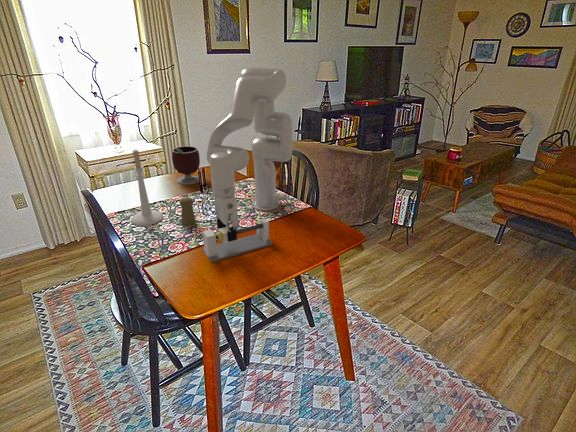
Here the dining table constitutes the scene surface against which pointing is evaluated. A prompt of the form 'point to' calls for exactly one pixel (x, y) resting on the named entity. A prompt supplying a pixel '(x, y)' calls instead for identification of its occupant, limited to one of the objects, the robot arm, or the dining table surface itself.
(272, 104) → the robot arm
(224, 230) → the sleeve
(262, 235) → the grey rod stand
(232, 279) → the dining table surface
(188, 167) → the mate gourd
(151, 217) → the candlestick
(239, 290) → the dining table surface
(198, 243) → the dining table surface
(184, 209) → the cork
